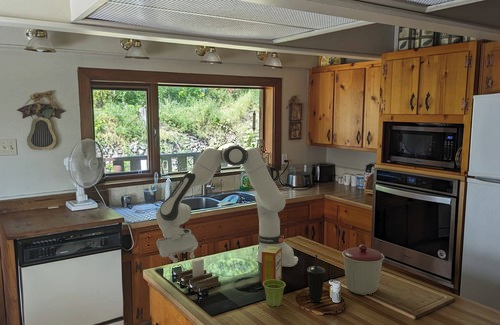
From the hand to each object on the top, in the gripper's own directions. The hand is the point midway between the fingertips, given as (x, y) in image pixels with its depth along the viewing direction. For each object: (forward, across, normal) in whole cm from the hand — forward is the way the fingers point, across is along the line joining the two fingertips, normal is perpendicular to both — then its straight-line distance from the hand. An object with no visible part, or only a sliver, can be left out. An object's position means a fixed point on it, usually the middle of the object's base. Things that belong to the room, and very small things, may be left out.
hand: (184, 260), depth 201 cm
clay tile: (+13, 0, -3) cm, 13 cm away
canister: (+53, +50, -41) cm, 84 cm away
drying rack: (+14, 0, -2) cm, 14 cm away
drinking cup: (+48, +27, -36) cm, 65 cm away
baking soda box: (+29, +27, -17) cm, 43 cm away
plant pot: (+41, +12, -29) cm, 51 cm away
